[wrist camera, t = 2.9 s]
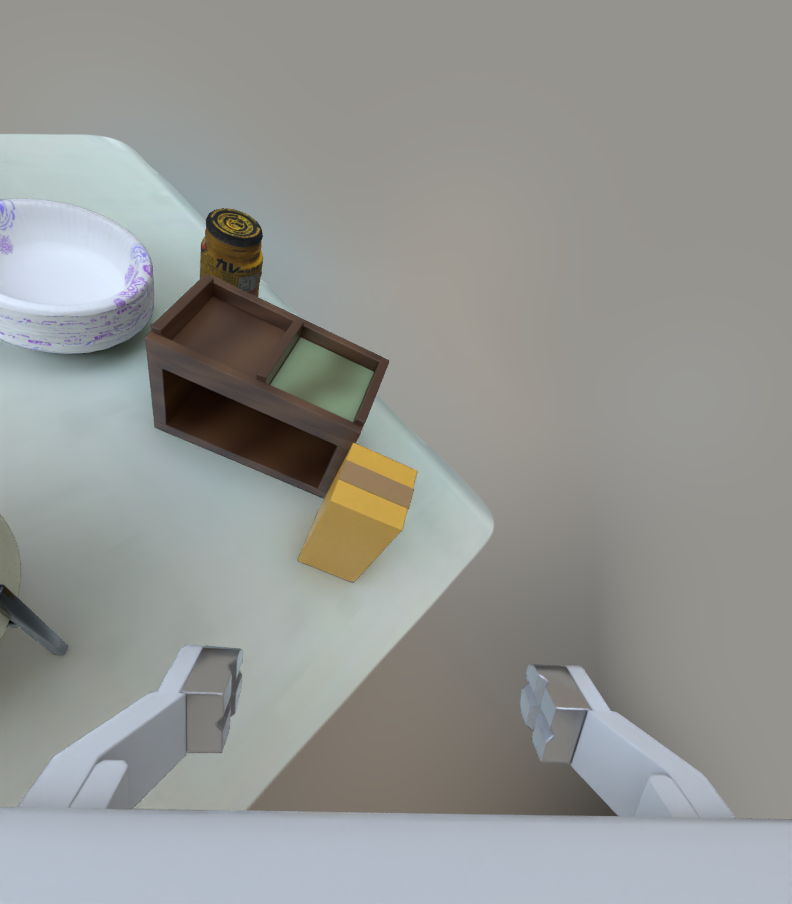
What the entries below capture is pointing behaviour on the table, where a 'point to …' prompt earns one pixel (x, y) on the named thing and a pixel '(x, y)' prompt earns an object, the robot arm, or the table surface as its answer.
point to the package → (359, 514)
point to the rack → (259, 384)
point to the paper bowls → (70, 278)
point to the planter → (8, 610)
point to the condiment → (232, 249)
